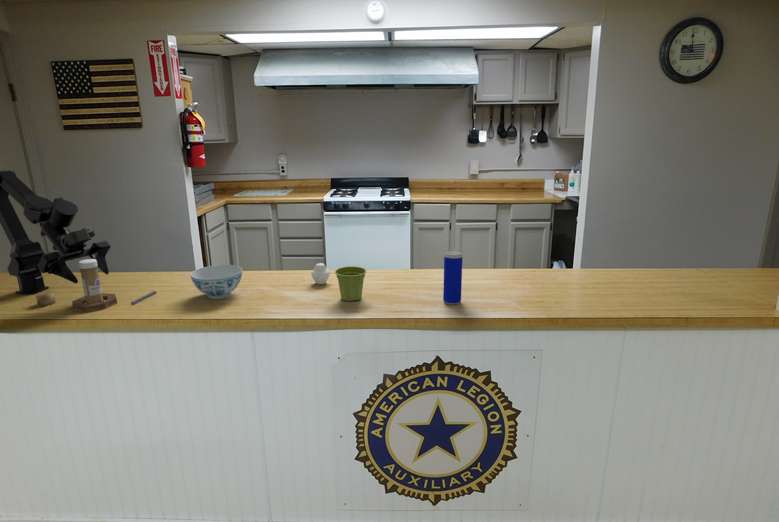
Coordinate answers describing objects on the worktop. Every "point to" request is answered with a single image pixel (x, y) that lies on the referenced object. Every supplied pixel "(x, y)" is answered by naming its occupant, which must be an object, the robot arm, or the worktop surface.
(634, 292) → the worktop surface
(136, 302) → the grey rectangular bar
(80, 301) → the walnut ring
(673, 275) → the worktop surface
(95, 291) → the sprinkles bottle
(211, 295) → the chinaware
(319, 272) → the white owl figurine
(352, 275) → the plant pot
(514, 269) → the worktop surface
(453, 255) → the beverage can
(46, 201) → the robot arm
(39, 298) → the small wooden bead
